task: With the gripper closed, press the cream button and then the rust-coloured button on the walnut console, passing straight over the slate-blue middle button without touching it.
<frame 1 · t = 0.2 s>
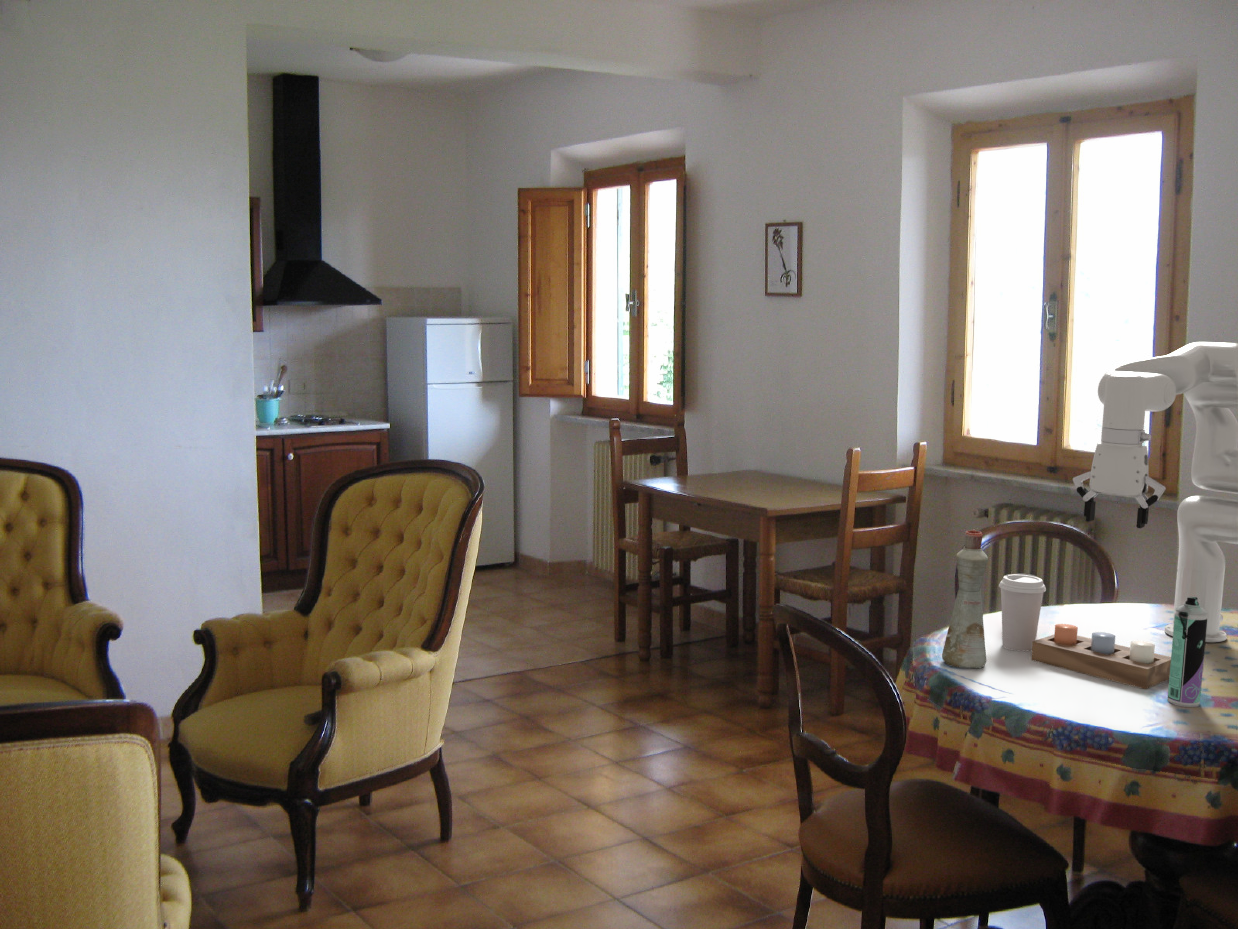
hand: (1114, 524, 239), 30 cm above the table, fingers open, 9 cm apart
slate button: (1102, 646, 245), point 5 cm above the table, slide at 0.0 cm
rust button: (1065, 638, 251), point 5 cm above the table, slide at 0.0 cm
beer can: (1020, 628, 276), on the table
spray can: (1183, 703, 226), on the table
console: (1100, 668, 246), on the table
bottle: (963, 665, 246), on the table
coffee cup: (1018, 647, 260), on the table
cream button: (1141, 655, 239), point 5 cm above the table, slide at 0.0 cm
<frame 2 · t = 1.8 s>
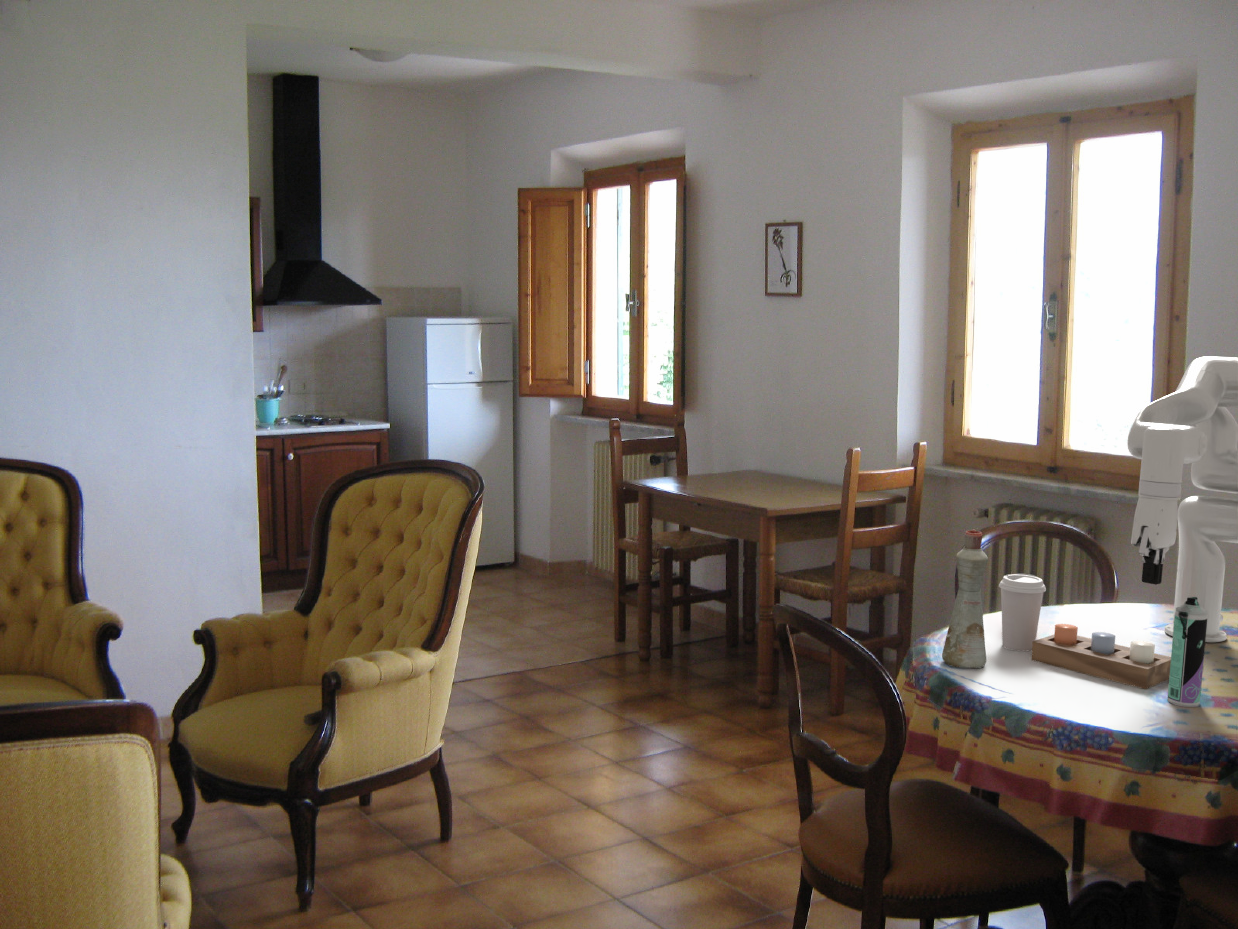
hand: (1151, 582, 238), 19 cm above the table, fingers closed
nothing on the table moved.
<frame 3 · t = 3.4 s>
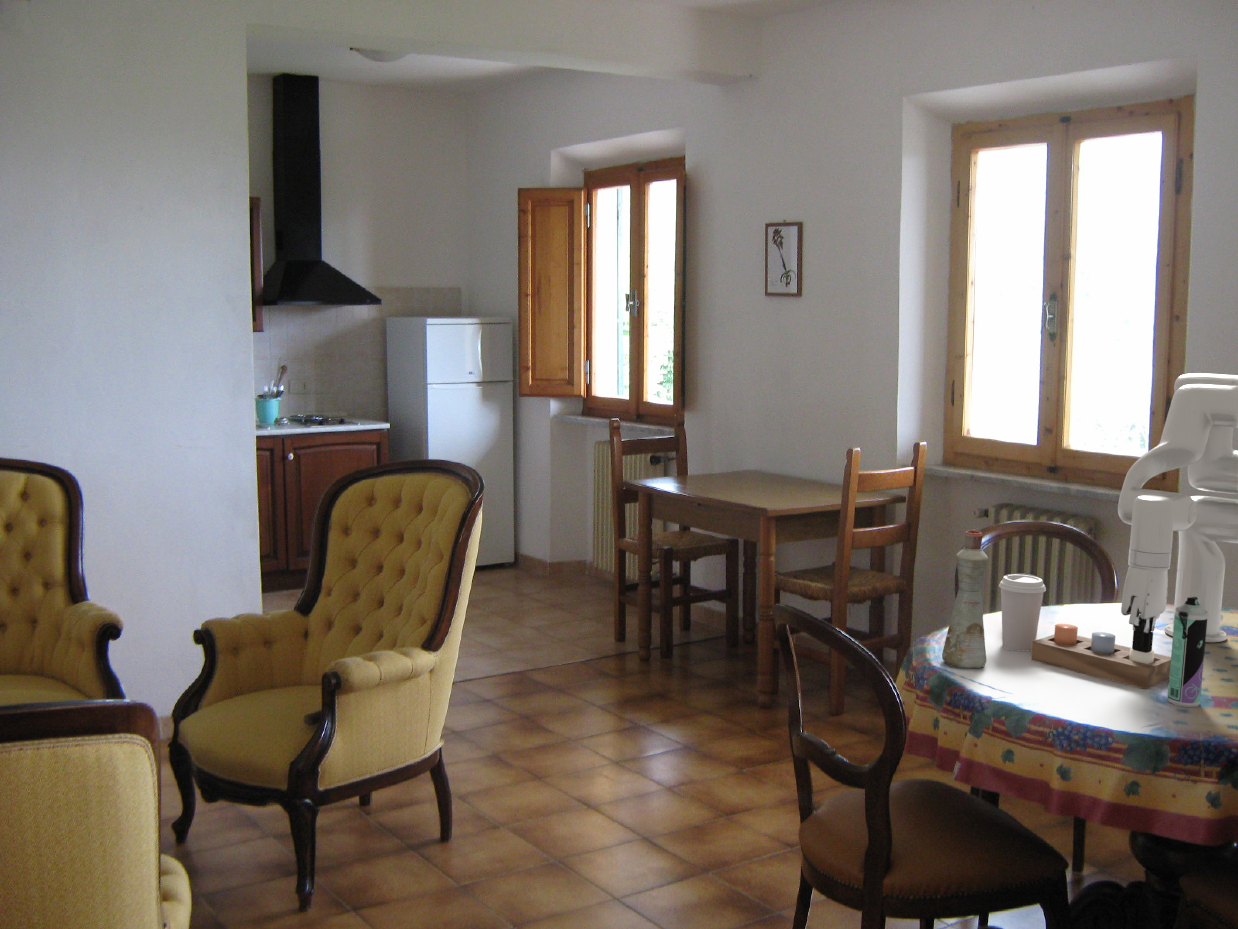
hand: (1141, 650, 239), 6 cm above the table, fingers closed
cream button: (1141, 662, 239), point 3 cm above the table, slide at 1.3 cm
everything else where it was.
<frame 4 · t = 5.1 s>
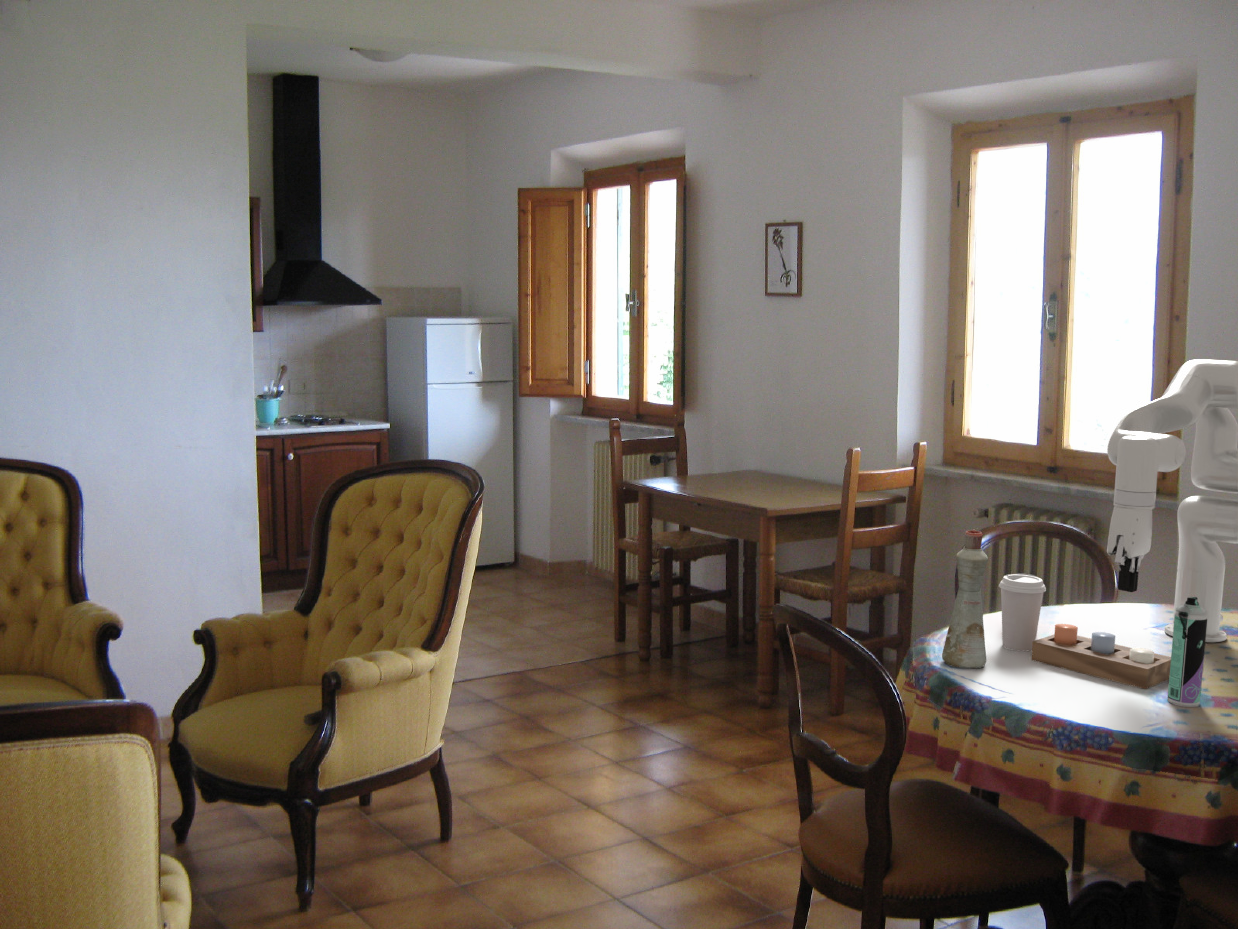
hand: (1127, 590, 240), 17 cm above the table, fingers closed
nothing on the table moved.
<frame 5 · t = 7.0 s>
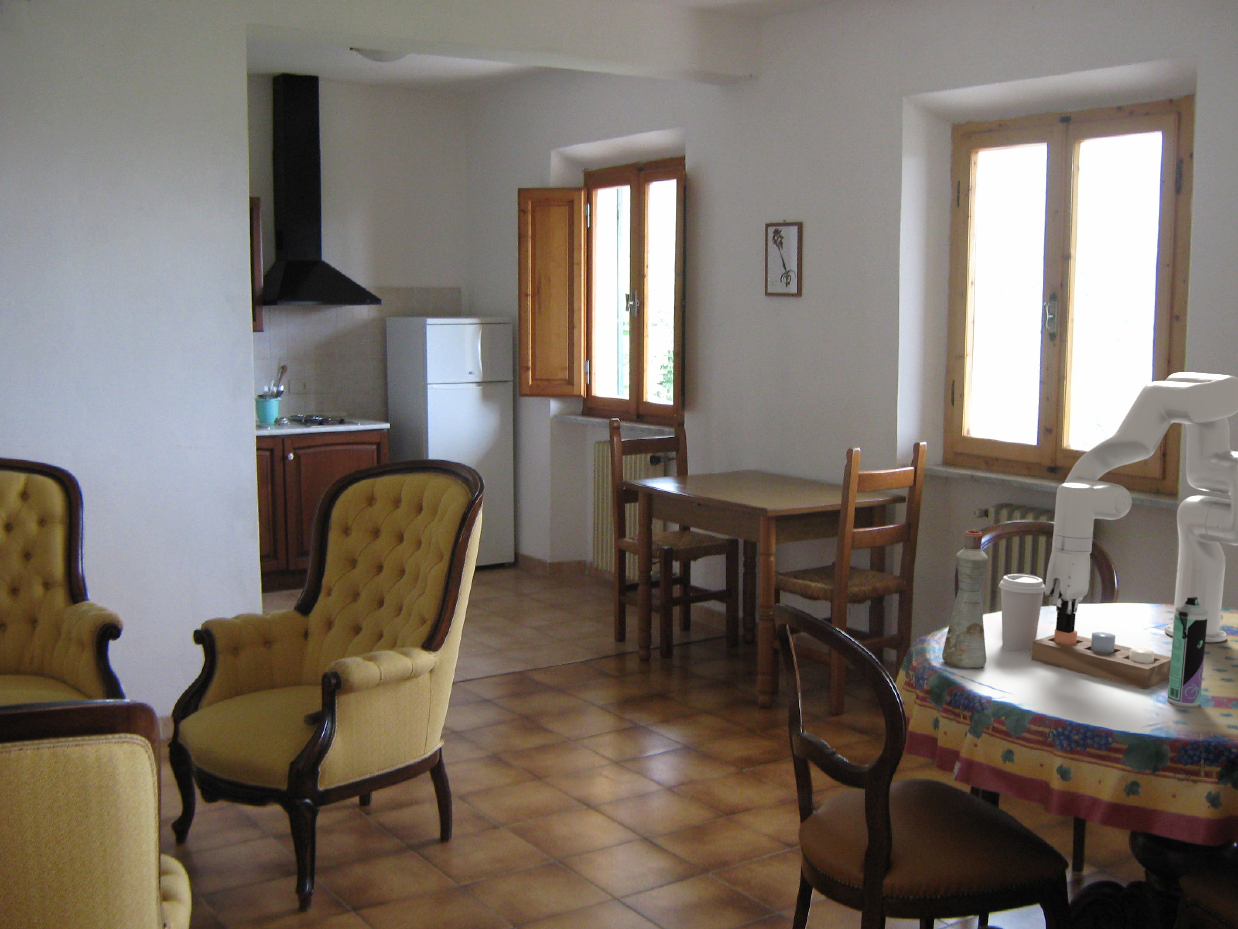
hand: (1064, 631, 250), 6 cm above the table, fingers closed
rust button: (1065, 642, 251), point 4 cm above the table, slide at 0.9 cm, touching gripper
everything else where it was.
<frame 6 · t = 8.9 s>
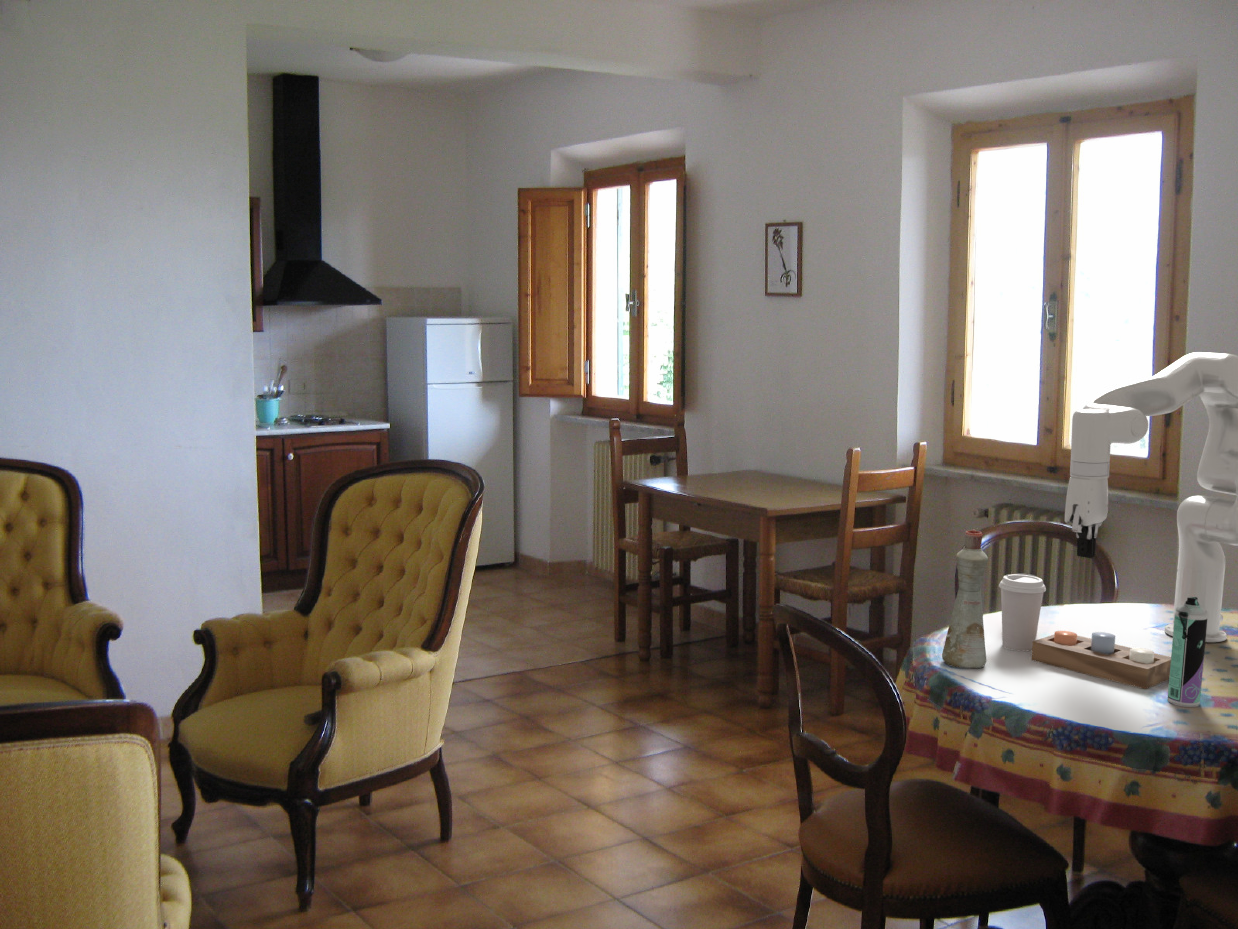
hand: (1085, 556, 252), 21 cm above the table, fingers closed
rust button: (1065, 644, 251), point 3 cm above the table, slide at 1.5 cm
everything else where it was.
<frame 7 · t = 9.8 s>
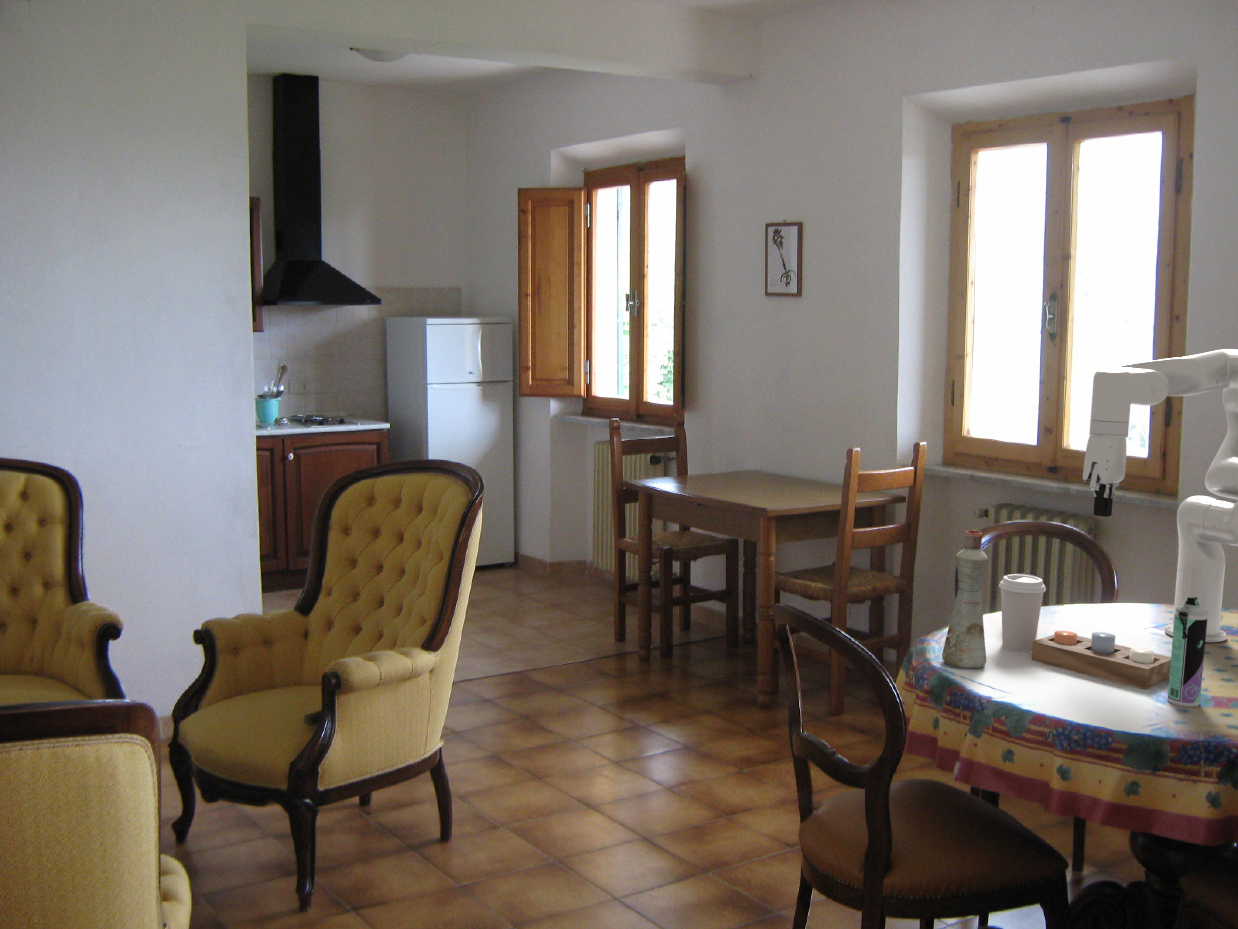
hand: (1102, 515, 256), 29 cm above the table, fingers closed
nothing on the table moved.
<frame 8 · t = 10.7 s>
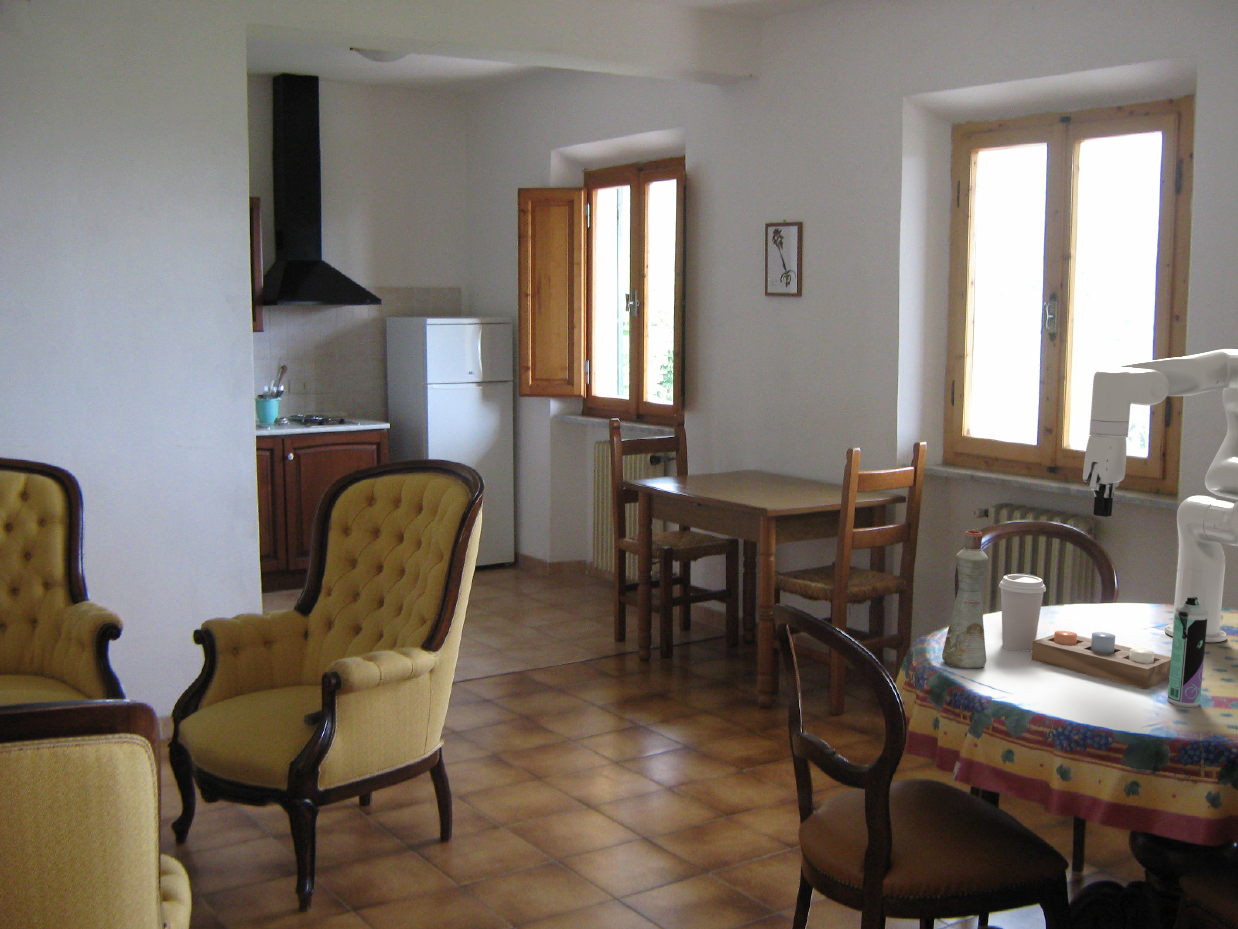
hand: (1102, 515, 256), 29 cm above the table, fingers closed
nothing on the table moved.
at the end: cream button slide at 1.5 cm; rust button slide at 1.5 cm; slate button slide at 0.0 cm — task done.
